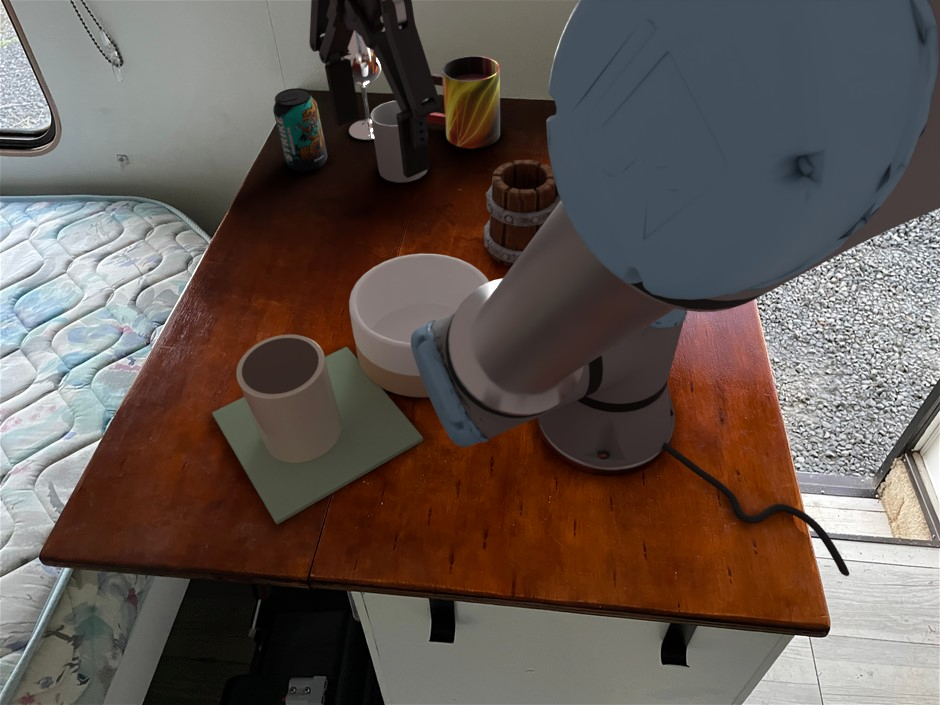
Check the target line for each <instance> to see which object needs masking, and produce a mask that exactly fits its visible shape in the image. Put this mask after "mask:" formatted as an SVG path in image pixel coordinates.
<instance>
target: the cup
mask: <svg viewBox="0 0 940 705" xmlns="http://www.w3.org/2000/svg"><path fill="white" fill-rule="evenodd" d="M400 112H401V110H400V107H399V105H398V103H397V101H396V100H392V101H388V102H384V103H381V104H379V105H377V106H376V107H374V108H373V109H372V111H371V113H369V115H370V118H371V122H372V128H373V135H374V140H373V141H374V148H375V155H376V161H377V168H378V172H379V176H380V177H382V178H383V179H385V181H387V182H388V181H389V182H393V183H409V182H413V181H416V180H419V179H421V178H423V176H425V175H426V174H427V172H428V170H425V171H423V172H421V173H419V174H416V175H414V176H412V177H409V178H407V177H406V176H404V174H403V165H402V157H401V149H400V140H399V132H398V123H397V118H396V116H397V115H396V114H398V113H400Z"/></svg>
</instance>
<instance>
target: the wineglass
mask: <svg viewBox="0 0 940 705" xmlns="http://www.w3.org/2000/svg"><path fill="white" fill-rule="evenodd" d="M348 49H349V51H350V52H348V53H351V55H348V56H345V57H342V58H341V59H342V60H344V59H349V60H350V61H351V66H352V72H353V78H354V85H355V87H356V86H357V87H359V89H360V91H361V92H360V93H361V95H362V100H363V106H364V113H365V118H364V119H359V120H357V121H356V122H354V123H352V124H351V125H350V127H349V128H348V133H349V135H350V136H351V137H352V138H354V139H356V140H360V141H374V135H373V128H372V122H371V115H370V109H369V101H368V94H367V92H368V91H367V88H368V86H369V85H371V84H372V83H373V82H375V81H376V80H377V78H378V77H379V76H380V73H381V71H382V68H381V66H380V64H379V62H378V60H377V58H376V55H375V53H374V51H373V50H372V49H369V48H367V47H366V45H365V43H364V41H363V39H362V37H361V36H360V35H359V34H358V33H357V32H356V31H355V30H354V33H353V35H352V38H351V41H350V43H349V46H348Z"/></svg>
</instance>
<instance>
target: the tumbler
mask: <svg viewBox="0 0 940 705" xmlns="http://www.w3.org/2000/svg"><path fill="white" fill-rule="evenodd" d="M325 357H326V356H325V353H324V351H323V349H322V347H321V346H320V345H319V344H318V343H317V342H316V341H314V340H313V339H311V338H309V337H307V336H303V335H299V334H281V335H274V336H272V337H269V338H266V339H264V340H262V341H260V342H258V343H256V344H255V345H252V346H251V347H250V348H249V349H248V350H246V352H245V353H243V355H242V357H241V358H240V359H239V362H238V364H237V367H236V373H235V375H236V380H237V384H238V386H239V388H240V391H241V394H242V397H244V398H245V401H246V403H247V405H248V408H249V410H250V413H251V415H252V418H253V420H254V423H255V425H256V427H257V430H258V432H259V435H260V437H261V440H262V442H263V444H264V447H265V449H266V450H267V452H268V453H269V454H270V455H271V456H273V457H274V458H276V459H278V460H280V461H283V462H288V463H302V462H307V461H311V460H314V459H316V458H318V457H320V456H322V455H324V454H325V453H326V452H328V451H329V450H330V449H331V448H332V447H333V446H334V445H335V444H336V442H337V441H338V439H339V437H340V434H341V431H342V420H341V416H340V412H339V409H338V405H337V401H336V397H335V394H334V390H333V386H332V382H331V379H330V375H329V371H328V368H327V364H326V360H325Z"/></svg>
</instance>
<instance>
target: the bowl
mask: <svg viewBox="0 0 940 705" xmlns="http://www.w3.org/2000/svg"><path fill="white" fill-rule="evenodd" d="M489 282H490V281H489V279H488V277H486V275H485V274H484V273H483V272H482V271H481V270H480V269H478V268H477V267H476V266H474V265H473V264H471V263H469V262H466V261H464V260H463V259H460V258H457V257H453V256H449V255H444V254H437V253H414V254H413V253H412V254H406V255H401V256H397V257H394V258H391V259H388V260H385V261H383V262H381V263H379V264H377V265H374V266H373V267H372V268H371V269H369V270H368V271H367V272H365V273H364V274H363V275H362V276H361V277H360V278H359V279H358V280H357V281H356V283H355V284H354V286H353V288H352V289H351V292H350V296H349V300H348V309H349V318H350V322H351V328H352V335H353V339H354V344H355V349H356V356H357V357H356V358H357V359H358V360H359V363H360V366H361V368H362V369H363V371H364V372H365V374H366V375H367V377H368V378H370V379H371V380H372V381H373V382H374V383H375V384H377V385H378V386H380V387H381V388H382V389H383V390H384V391H388V392H390V393H393V394H396V395H398V396H399V395H400V396H404V397H410V398H429V396H428V393H427V391H426V388H425V386H424V383H423V381H422V378H421V376H420V373H419V370H418V367H417V364H416V361H415V358H414V355H413V352H412V347H411V336H412V334H413V332H414V331H415V330H416V329H418V328H420V327H422V326H424V325H426V324H427V323H428V322H430V321H431V320H436V321H437V320H440V319H443V318H445V317H448V316H450V315H452V314H454V313H455V312H456V310H457V309H458V307H459V306H460V304H461V303H462V302H463V301H464V299H466V298H467V297H468V296H469V295H470V294H471V293H472V292H473V291H475V290H476V289H478V288H479V287H481V286H483V285H485V284H487V283H489Z"/></svg>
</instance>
